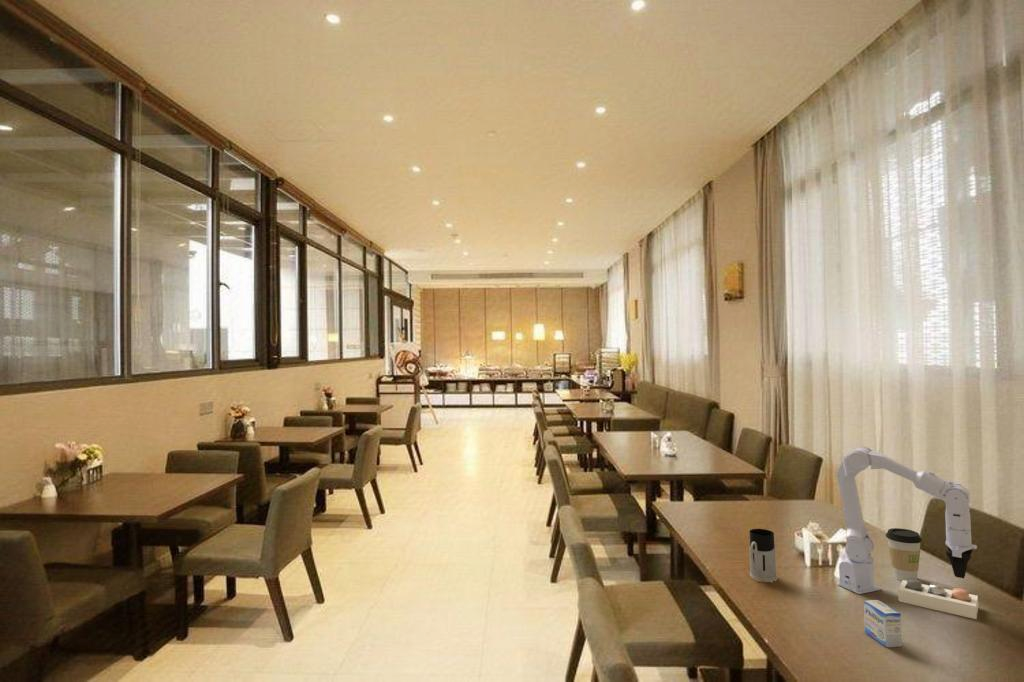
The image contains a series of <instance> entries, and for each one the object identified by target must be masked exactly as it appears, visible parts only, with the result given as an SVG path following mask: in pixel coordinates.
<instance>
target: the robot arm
mask: <svg viewBox="0 0 1024 682" xmlns="http://www.w3.org/2000/svg"><path fill="white" fill-rule="evenodd" d="M869 466H870V470H879V469H883V470H885V471H888V472H891V473H893V474H894V475H897V476H899V477H902V478H905V479H906V480H909V481H911V482H912V483H913V485H914V487H915V489H918V490H921V492H925V493H926V494H929V495H930V496H932V497H935V498H937V499H939V500H943V502H944V503H945V512H944V513H945V514H944V517H945V521H944V522H945V539H946V540H945V546H947V549H946V550H945V554H946V556H947V558H948V560H949V562H950V564H951V567H952V572H953V575H954V577H955V578H960V579H965V577H966V573H967V568H968V567H967V566H968V563H969V561H970V560H971V558H972V555H971V554H973V550H977V549H978V546H977V545H978V544H972V525H971V523H972V522H971V513H970V510H971V509H970V501H971V500H970V499H971V493H970V491H969V490H968V489H967V488H966V486H963V485H962V484H961V483H955V482H954V481H952V480H947V479H944V478H942V477H940V476H938V475H935V474H936V473H935V472H934V471H931V470H929V472H928V471H927V470H921V471H917V470H915V469H913V468H911V467H909V466H908V465H905V464H903V463H901V462H900V461H898V460H895V459H893V458H892V457H890V456H888V455H886V454H884V453H881V452H880V451H877V450H875V449H871V448H869V447H867V446H862V445H861V446H858V447H856V448H854V449H853V450H851V451H850V452H848V453H847V454H846V455H845V456H844V457H843V458H842V461H841V462H840V465H839V467H838V468H837V471H836V480H837V484H838V489H839V494H840V499H841V504H842V509H843V510H842V511H843V514H844V515H843V516H844V519H845V521H844V522H845V525H846V535H845V539H846V543H845V544H846V545H845V547H844V550H845V553H846V558H845V560H843V561H841V562H840V563H839V567H838V570H839V572H838V573H839V574H838V575H839V582H837V585H838V586H840V587H842V588H845V589H846V590H849V591H851V592H854V593H855V594H858V595H862V594H867V593H872V592H876V591H881V590H882V587H880V586H878V585H875V567H874V558H873V556H872V555H871V552H873V551H874V548H875V547H874V546H875V544H874V542H873V540H872V538H871V537H870V536H869V532H868V530H867V528H866V525H865V521H864V517H863V512H862V507H861V503H860V497H859V496H860V495H859V492H858V488H857V487H858V486H857V480H856V477H857V476H858V474H860V473H861V472H863V471H865V470H867V469H868V468H869Z"/></svg>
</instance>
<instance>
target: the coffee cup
mask: <svg viewBox="0 0 1024 682" xmlns="http://www.w3.org/2000/svg"><path fill="white" fill-rule="evenodd" d="M885 537H886V539H887V542H888V543H887V544H888V545H887V546H888V547H887V548H888V553H889V557H890V559H889V560H890V564H891V568H892V574H893V578H894V579H896V580H897V581H901V582H902V580H906V581H907V579H917V580H918V573H919V566H920V558H921V557H920V556H921V543H922V542H923V540H922V537H921V535H920V533H919V532H917V531H915V530H911V529H906V528H897V527H895V528H894V527H893V528H889V529H887V532H886V534H885Z"/></svg>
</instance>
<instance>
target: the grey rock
mask: <svg viewBox="0 0 1024 682" xmlns="http://www.w3.org/2000/svg"><path fill="white" fill-rule="evenodd" d="M929 587H930V594H934V595H938V596H943V597H945V589H946V587H945V586H944V585H943V584H940V583H936V582H935V583H934V582H930V583H929Z"/></svg>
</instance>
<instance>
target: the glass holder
mask: <svg viewBox="0 0 1024 682" xmlns="http://www.w3.org/2000/svg"><path fill="white" fill-rule="evenodd" d="M749 563H750V564H749V568H750V569H749V570H750V572H749V574H750V576H751V577H752V578H754V579H757V580H760V581H765V582H764V583H766V582H771V581H772V582H771V583H774V582H773V581H775V582H777V581H778V580H777V578H778V577H777V569H776V568H777V563H776V546H775V532H774V531H771V530H769V529H764V528H752V529H750V530H749ZM776 580H777V581H776Z"/></svg>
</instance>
